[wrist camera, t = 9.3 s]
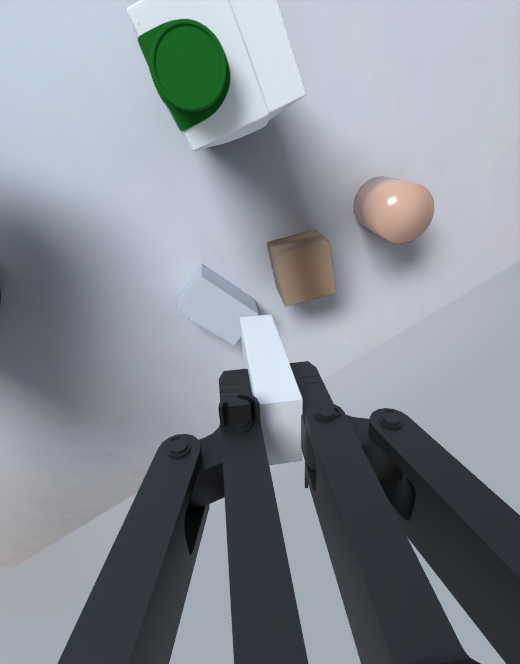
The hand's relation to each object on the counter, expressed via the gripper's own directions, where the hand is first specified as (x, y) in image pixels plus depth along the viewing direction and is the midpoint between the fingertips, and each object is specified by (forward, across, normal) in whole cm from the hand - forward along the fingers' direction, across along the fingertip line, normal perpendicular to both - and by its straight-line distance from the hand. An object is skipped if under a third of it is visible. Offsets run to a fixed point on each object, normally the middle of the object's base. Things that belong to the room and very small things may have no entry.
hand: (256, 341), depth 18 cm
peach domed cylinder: (+29, +18, +1) cm, 34 cm away
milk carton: (+29, 0, +13) cm, 31 cm away
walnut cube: (+29, +8, -5) cm, 30 cm away
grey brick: (+29, -2, -9) cm, 30 cm away
